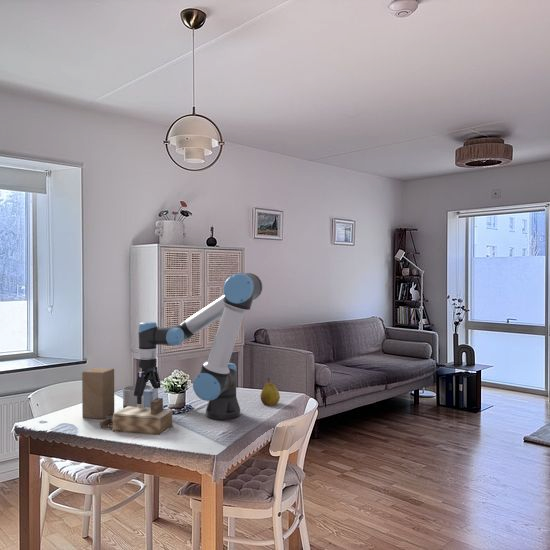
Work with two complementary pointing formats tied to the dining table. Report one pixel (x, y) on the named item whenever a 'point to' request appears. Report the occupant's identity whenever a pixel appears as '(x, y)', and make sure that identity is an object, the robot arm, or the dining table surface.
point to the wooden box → (142, 424)
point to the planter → (131, 395)
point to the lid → (145, 410)
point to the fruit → (270, 394)
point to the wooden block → (98, 393)
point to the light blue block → (148, 397)
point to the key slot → (106, 423)
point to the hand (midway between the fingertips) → (147, 407)
